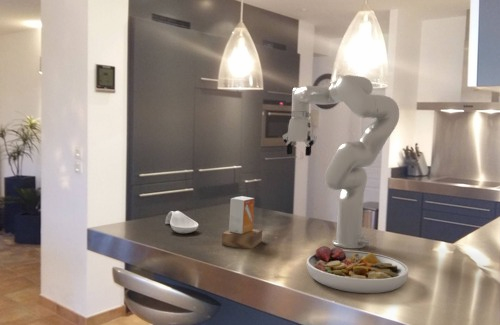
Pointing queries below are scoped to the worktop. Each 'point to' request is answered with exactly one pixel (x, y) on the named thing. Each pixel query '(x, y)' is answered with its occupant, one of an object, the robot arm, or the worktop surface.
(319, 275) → the bowl
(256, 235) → the tan block
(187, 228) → the spoon rest
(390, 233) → the worktop surface
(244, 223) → the small box
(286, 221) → the worktop surface
